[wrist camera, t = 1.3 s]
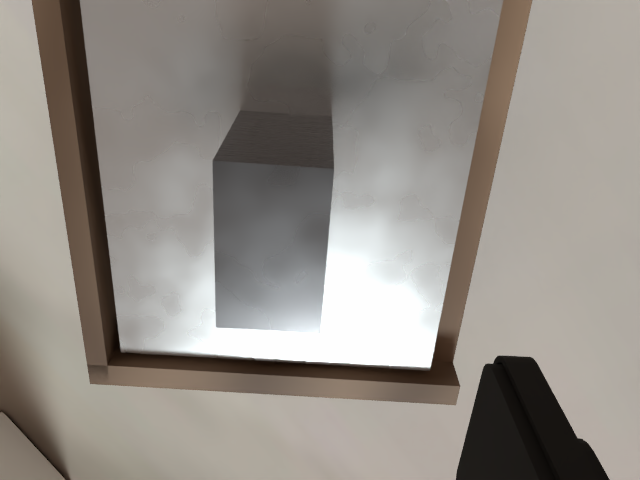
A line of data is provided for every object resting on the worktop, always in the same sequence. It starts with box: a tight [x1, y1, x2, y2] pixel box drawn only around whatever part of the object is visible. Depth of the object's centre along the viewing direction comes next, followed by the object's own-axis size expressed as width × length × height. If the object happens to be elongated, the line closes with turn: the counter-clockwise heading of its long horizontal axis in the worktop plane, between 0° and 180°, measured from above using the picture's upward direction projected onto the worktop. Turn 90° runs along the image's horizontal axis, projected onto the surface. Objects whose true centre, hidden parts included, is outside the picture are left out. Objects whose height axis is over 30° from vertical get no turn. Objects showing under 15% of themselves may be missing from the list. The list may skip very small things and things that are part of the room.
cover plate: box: [80, 0, 503, 371], centre depth 18 cm, size 13×15×6 cm
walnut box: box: [32, 0, 532, 405], centre depth 22 cm, size 15×18×8 cm
